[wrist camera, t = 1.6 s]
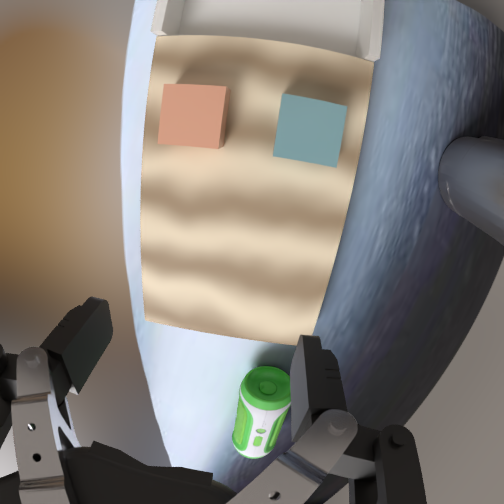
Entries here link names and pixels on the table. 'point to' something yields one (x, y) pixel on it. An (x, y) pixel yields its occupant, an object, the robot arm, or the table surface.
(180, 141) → the terracotta tile
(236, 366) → the table surface
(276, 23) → the box
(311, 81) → the wooden tray board
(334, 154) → the teal tile
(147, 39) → the table surface
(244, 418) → the speaker
